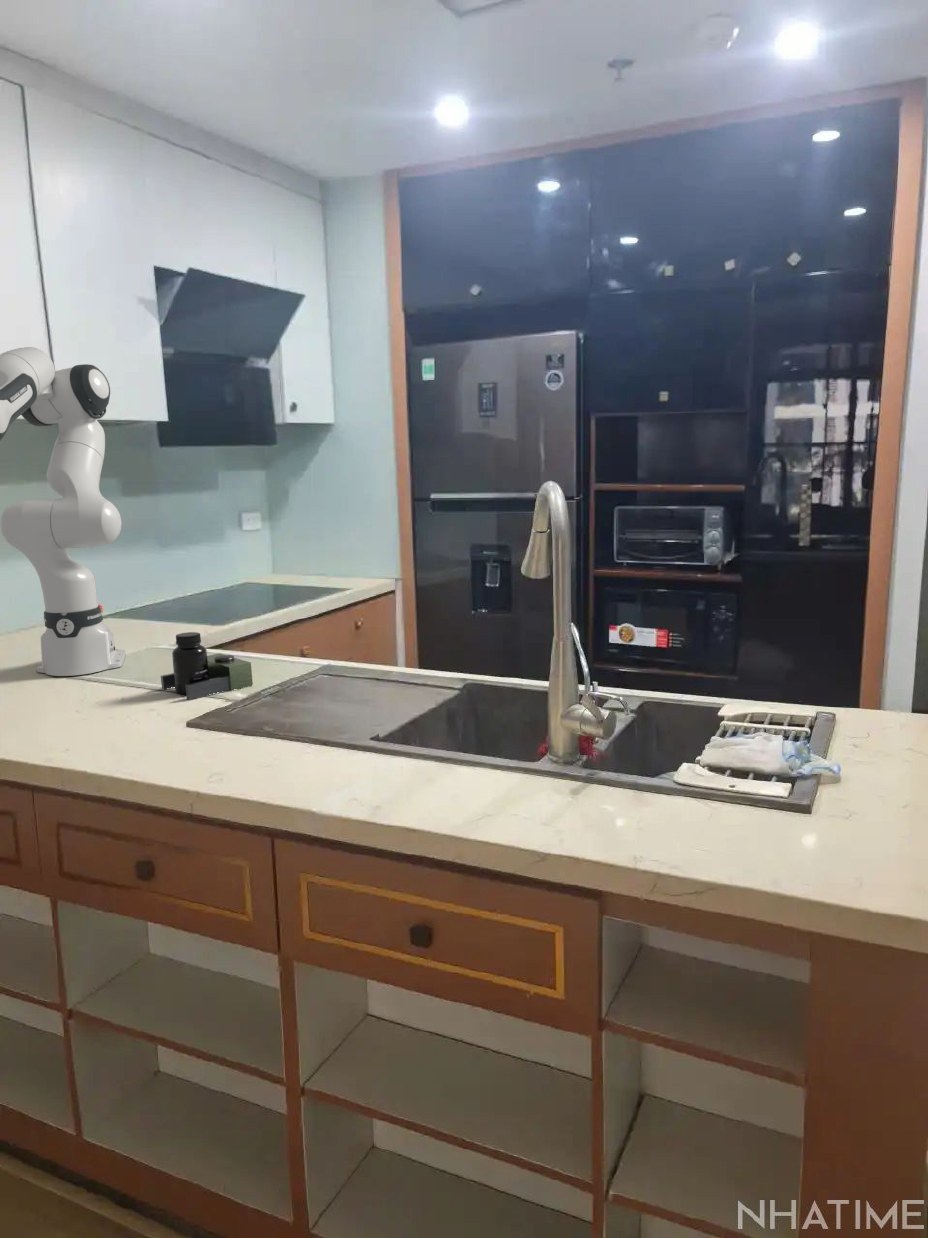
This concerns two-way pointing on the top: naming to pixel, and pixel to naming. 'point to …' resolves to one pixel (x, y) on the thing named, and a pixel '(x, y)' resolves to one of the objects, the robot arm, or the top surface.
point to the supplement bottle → (189, 661)
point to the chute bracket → (216, 677)
